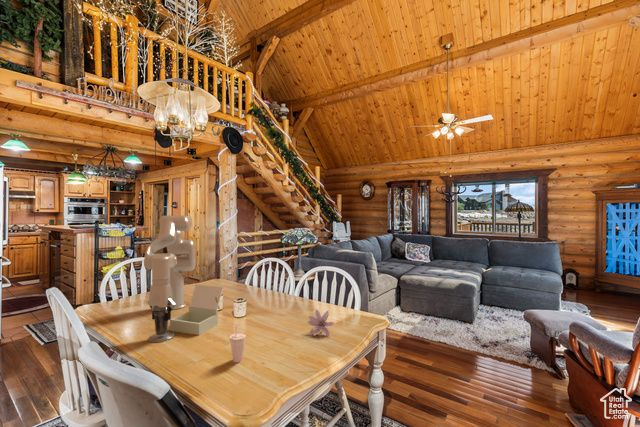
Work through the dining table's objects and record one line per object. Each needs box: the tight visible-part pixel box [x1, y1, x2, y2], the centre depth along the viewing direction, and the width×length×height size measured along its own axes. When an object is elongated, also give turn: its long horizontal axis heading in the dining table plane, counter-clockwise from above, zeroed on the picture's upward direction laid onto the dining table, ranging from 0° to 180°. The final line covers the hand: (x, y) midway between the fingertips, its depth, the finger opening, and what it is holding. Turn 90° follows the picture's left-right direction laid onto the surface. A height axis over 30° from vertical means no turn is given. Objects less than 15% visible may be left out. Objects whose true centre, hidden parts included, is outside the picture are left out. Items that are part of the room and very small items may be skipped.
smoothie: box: [229, 324, 247, 363], centre depth 120 cm, size 6×6×14 cm
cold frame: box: [169, 284, 224, 336], centre depth 156 cm, size 18×19×19 cm
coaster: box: [148, 331, 175, 344], centre depth 142 cm, size 11×11×1 cm
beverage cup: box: [153, 304, 169, 335], centre depth 142 cm, size 7×7×20 cm
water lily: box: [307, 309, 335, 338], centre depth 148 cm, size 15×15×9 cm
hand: (161, 319), depth 142 cm, fingers closed on beverage cup, 6 cm apart
